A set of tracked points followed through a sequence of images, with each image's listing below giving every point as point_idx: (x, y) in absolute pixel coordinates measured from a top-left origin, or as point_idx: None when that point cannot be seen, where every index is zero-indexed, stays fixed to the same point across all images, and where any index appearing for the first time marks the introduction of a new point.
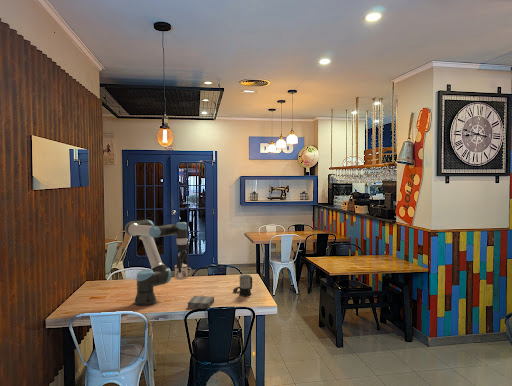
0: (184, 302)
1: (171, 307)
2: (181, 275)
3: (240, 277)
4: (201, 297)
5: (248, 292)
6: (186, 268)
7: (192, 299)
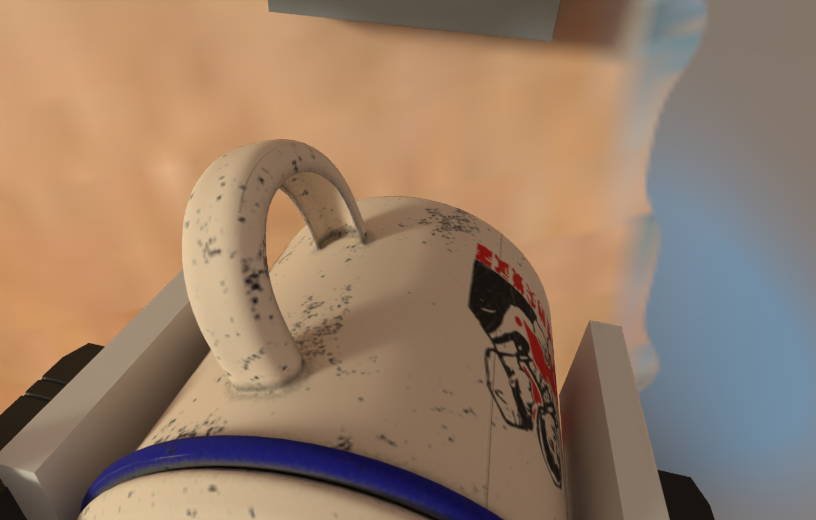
0: (350, 118)
1: (508, 217)
2: (626, 375)
3: None
4: None
5: None
6: (366, 401)
7: (419, 2)
